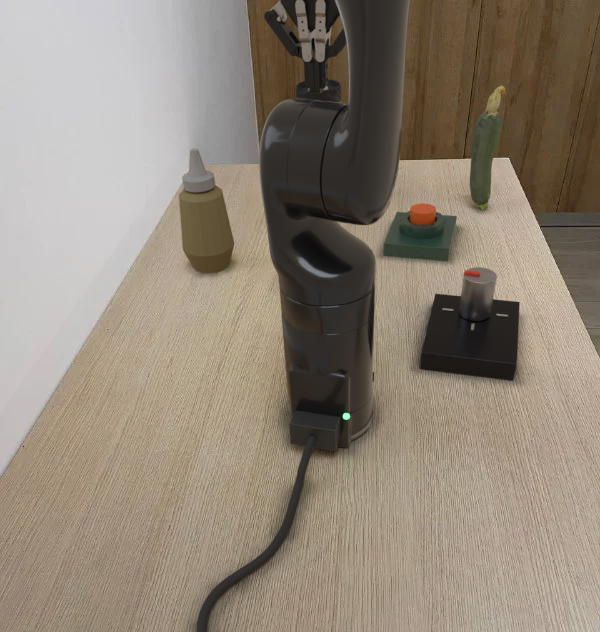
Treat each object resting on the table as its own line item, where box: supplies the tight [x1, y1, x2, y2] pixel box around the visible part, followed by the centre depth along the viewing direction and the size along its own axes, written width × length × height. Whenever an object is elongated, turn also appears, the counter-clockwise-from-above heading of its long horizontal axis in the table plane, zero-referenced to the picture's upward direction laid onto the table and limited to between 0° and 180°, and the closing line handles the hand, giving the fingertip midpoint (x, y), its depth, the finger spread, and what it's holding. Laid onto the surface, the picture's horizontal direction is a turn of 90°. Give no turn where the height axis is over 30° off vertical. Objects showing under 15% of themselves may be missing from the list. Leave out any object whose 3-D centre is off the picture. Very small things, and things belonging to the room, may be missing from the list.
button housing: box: [383, 210, 458, 262], centre depth 103 cm, size 12×10×4 cm
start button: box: [409, 202, 437, 225], centre depth 101 cm, size 4×4×2 cm
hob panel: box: [419, 293, 521, 382], centre depth 81 cm, size 14×11×3 cm
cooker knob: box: [459, 266, 498, 321], centre depth 81 cm, size 4×4×6 cm
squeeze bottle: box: [178, 148, 235, 274], centre depth 95 cm, size 8×8×18 cm
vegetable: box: [469, 84, 506, 211], centre depth 107 cm, size 4×4×20 cm
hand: (317, 91), depth 84 cm, fingers closed
